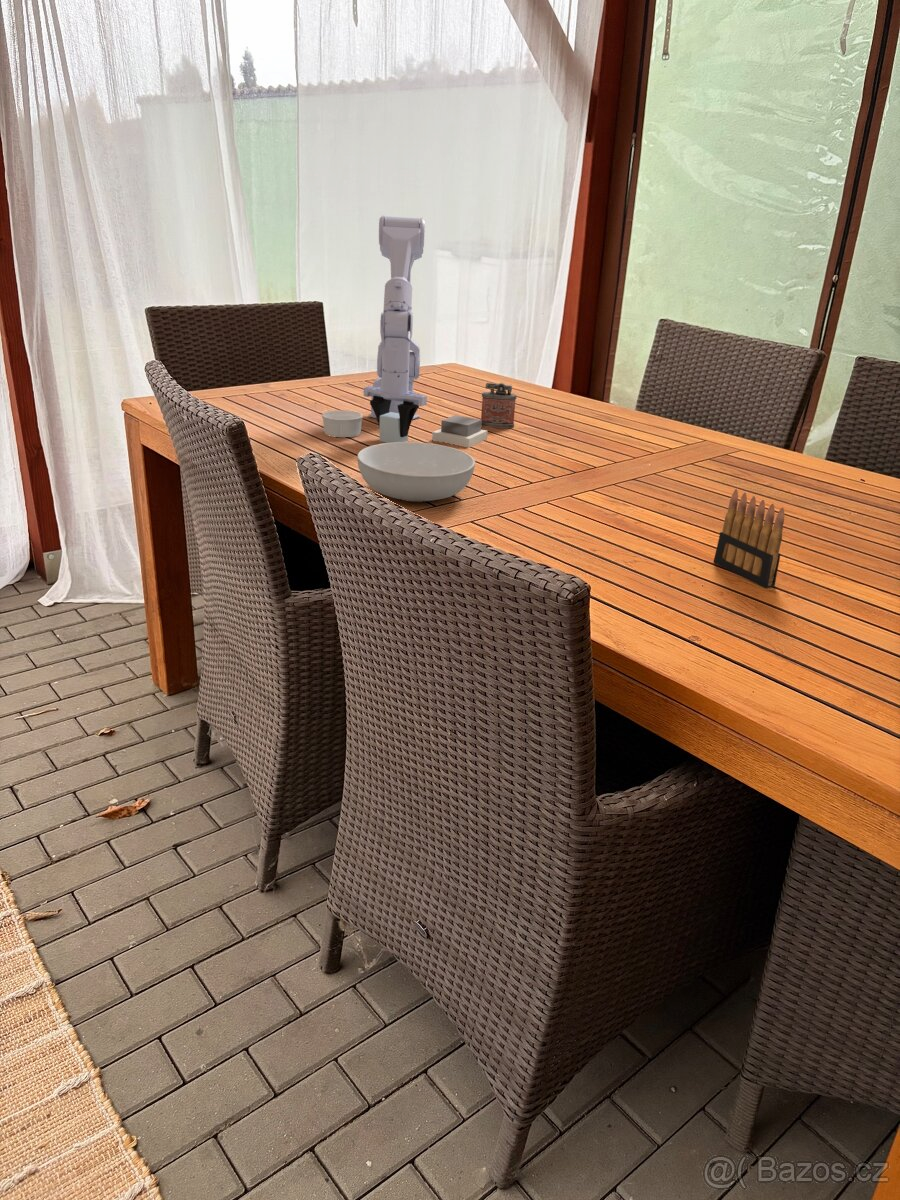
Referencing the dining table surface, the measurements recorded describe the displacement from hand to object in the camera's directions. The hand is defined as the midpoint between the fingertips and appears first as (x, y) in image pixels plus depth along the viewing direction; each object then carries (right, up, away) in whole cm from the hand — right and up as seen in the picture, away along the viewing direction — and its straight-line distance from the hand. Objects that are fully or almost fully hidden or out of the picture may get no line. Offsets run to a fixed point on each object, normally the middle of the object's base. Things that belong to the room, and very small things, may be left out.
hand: (393, 434), depth 192 cm
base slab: (+14, -1, +5) cm, 15 cm away
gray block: (0, -1, +1) cm, 1 cm away
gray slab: (+15, +1, +3) cm, 15 cm away
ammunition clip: (+56, -32, -58) cm, 87 cm away
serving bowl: (+6, -17, -32) cm, 36 cm away
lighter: (+23, +5, +18) cm, 30 cm away
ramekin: (-12, +1, +4) cm, 12 cm away
